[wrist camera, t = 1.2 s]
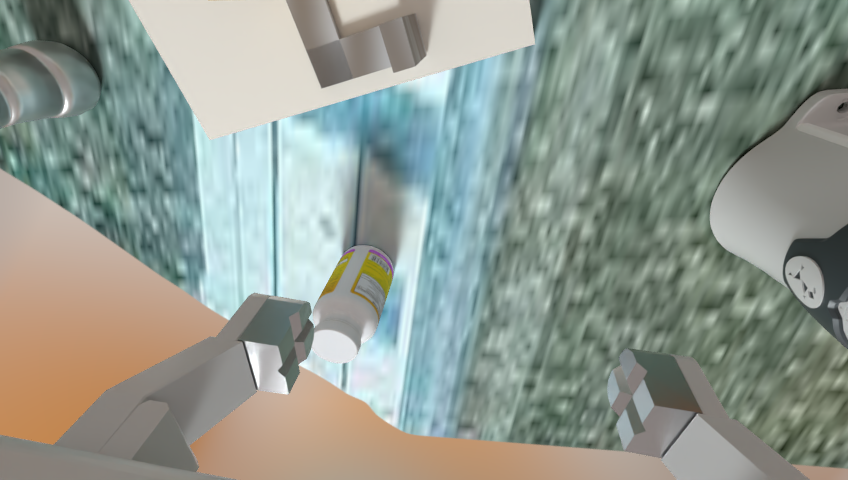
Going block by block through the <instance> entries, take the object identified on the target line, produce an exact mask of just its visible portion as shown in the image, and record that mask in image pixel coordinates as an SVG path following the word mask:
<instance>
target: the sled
mask: <svg viewBox="0 0 848 480" xmlns="http://www.w3.org/2000/svg"><path fill="white" fill-rule="evenodd" d="M286 2H287V4H288V7H289V9H290V12H291V14H292V17H293V19H294V22H295V24H296V27H297V29H298V32H299V34H300V37H301V39H302V42H303V44H304V47H305V49H306V52H307V54H308V56H309V59H310V61H311V64H312V66H313V69H314V71H315V74H316V76H317V79H318V81H319V84H320V86H321V89H322V88H325V87H328V86H332V85H335V84H338V83H341V82H344V81H348V80H351V79H354V78H357V77H361V76H364V75H367V74H370V73H373V72H377V71H380V70H383V69H386V68H390V67H392V70H393V73H395V72H399V71H402V70H405V69H408V68H412V67H415V66H416V65H417V64H418V63H419V62H420V61H421V60H422V59H423V58H424V57H426V56H427V54H426V50H425V47H424V43H423V39H422V35H421V31H420V27H419V24H418V20H417V16H416V13H414V14H411V15H407V16H403V17H400V18H397V19H394V20H391V21H388V22H385V23H382V24H380V25H379V26H377V27H374V28H371V29H368V30H365V31H362V32H359V33H356V34H354V35H351V36H348V37H345V38H341V36H340V33H339V30H338V27H337V24H336V22H335V19H334V16H333V13H332V10H331V8H330V5H329V2H328V0H286Z"/></svg>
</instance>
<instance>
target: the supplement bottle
mask: <svg viewBox="0 0 848 480" xmlns="http://www.w3.org/2000/svg"><path fill="white" fill-rule="evenodd" d="M393 275H394V268H393V264H392V262H391V260H390V259H389V257H388V256H387V255H386V254H385V253H384V252H383V251H381V250H379V249H378V248H375V247H372V246H368V245H358V246H354V247H351V248H350V249H348V250H347V251H346V252H345V253H344V254H343V255H342V257H341V259H340V261H339V262H338V264H337V266H336V268H335V270H334V272H333V273H332V275H331V277H330V279H329V281H328V283H327V284H326V286H325V288H324V290H323V292H322V294H321V295H320V297H319V299H318V301H317V303H316V305H315V307H314V310H313V320H314V324H315V328H314V340H313V343H312V347H311V348H312V350H313V351H314V352H315V353H316V354H317V355H318V356H319V357H321V358H322V359H324V360H327V361H329V362H333V363H347V362H350V361H352V360H353V359H354V358H355V357H356V356H357V354H358V351H359V349H360V346H361V344H362V343H364V342H366V341H368V340H369V339H370V338H371V337H372V336H373V335H374V333H375V331H376V329H377V326H378V323H379V320H380V316H381V313H382V310H383V307H384V304H385V301H386V298H387V295H388V292H389V289H390V286H391V283H392V279H393Z"/></svg>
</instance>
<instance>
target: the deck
mask: <svg viewBox="0 0 848 480" xmlns="http://www.w3.org/2000/svg"><path fill="white" fill-rule="evenodd" d="M129 2H130V3H131V5H132V7H133V8H134V10H135V12H136V14H137V15H138V17H139V19H140V21H141V22H142V24H143V26H144V27H145V29H146V31H147V33H148V34H149V36H150V38H151V39H152V41H153V43H154V45H155V46H156V48H157V50H158V52H159V53H160V55H161V57H162V58H163V60H164V62H165V64H166V65H167V67H168V69H169V71H170V72H171V74H172V76H173V77H174V79H175V81H176V83H177V84H178V86H179V88H180V89H181V91H182V93H183V95H184V96H185V98H186V100H187V102H188V103H189V105H190V107H191V108H192V110H193V112H194V114H195V115H196V117H197V119H198V121H199V122H200V124H201V126H202V127H203V129H204V131H205V133H206V134H207V136H208V138H209V139H210V140H212V139H215V138H219V137H222V136H225V135H229V134H232V133H236V132H239V131H242V130H246V129H249V128H253V127H256V126H259V125H263V124H266V123H269V122H273V121H276V120H280V119H283V118H286V117H290V116H293V115H296V114H300V113H303V112H307V111H310V110H313V109H317V108H320V107H324V106H327V105H330V104H334V103H337V102H340V101H344V100H347V99H351V98H354V97H357V96H361V95H364V94H368V93H371V92H374V91H378V90H381V89H384V88H388V87H391V86H395V85H398V84H401V83H405V82H408V81H412V80H415V79H418V78H422V77H425V76H428V75H432V74H435V73H439V72H442V71H445V70H449V69H452V68H456V67H459V66H462V65H466V64H469V63H472V62H476V61H479V60H483V59H486V58H489V57H493V56H496V55H500V54H503V53H506V52H510V51H513V50H516V49H520V48H523V47H527V46H530V45H533V44H535V40H534V32H533V24H532V17H531V9H530V1H529V0H328V2H329V5H330V8H331V10H332V13H333V16H334V19H335V22H336V24H337V27H338V30H339V33H340V36H341V38H345V37H348V36H351V35H354V34H356V33H359V32H362V31H365V30H368V29H371V28H374V27H377V26H379V25H380V24H382V23H385V22H388V21H391V20H394V19H397V18H400V17H403V16H407V15H411V14H414V13H416V16H417V20H418V24H419V27H420V31H421V35H422V39H423V43H424V47H425V50H426V54H427V56H426V57H424V58H423V59H422V60H421V61H420V62H419V63H418V64H417V65H416V66H415V67H412V68H408V69H405V70H402V71H399V72H395V73H393V70H392V67H390V68H386V69H383V70H380V71H377V72H373V73H370V74H367V75H364V76H361V77H357V78H354V79H351V80H348V81H344V82H341V83H338V84H335V85H332V86H328V87H325V88H322V89H321V86H320V84H319V81H318V79H317V76H316V74H315V71H314V69H313V66H312V64H311V61H310V59H309V56H308V54H307V52H306V49H305V47H304V44H303V42H302V39H301V37H300V34H299V32H298V29H297V27H296V24H295V22H294V19H293V17H292V14H291V12H290V9H289V7H288V4H287V2H286V0H129Z"/></svg>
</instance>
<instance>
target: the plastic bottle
mask: <svg viewBox="0 0 848 480" xmlns="http://www.w3.org/2000/svg"><path fill="white" fill-rule="evenodd" d="M100 94H101V85H100V81H99V78H98V76H97V73H96V72H95V70H94V68H93V67H92V65H91V64H90V63H89V62H88V61H87V60H86V59H85V58H84V57H83V56H82V55H81V54H80V53H78V52H77V51H75V50H74V49H72V48H70V47H68V46H66V45H64V44H61V43H58V42H53V41H42V40H32V41H28V42H24V43H20V44H17V45H14V46H12V47H9V48H7V49H3V50H0V129H1V128H4V127H7V126H10V125H13V124H17V123H23V122H28V121H34V120H40V119H45V118H60V117H70V116H77V115H80V114H83V113H84V112H86V111H88V110H90V109H92V108H93V107H95V105H96V104H97V102H98V100H99V97H100Z"/></svg>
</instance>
